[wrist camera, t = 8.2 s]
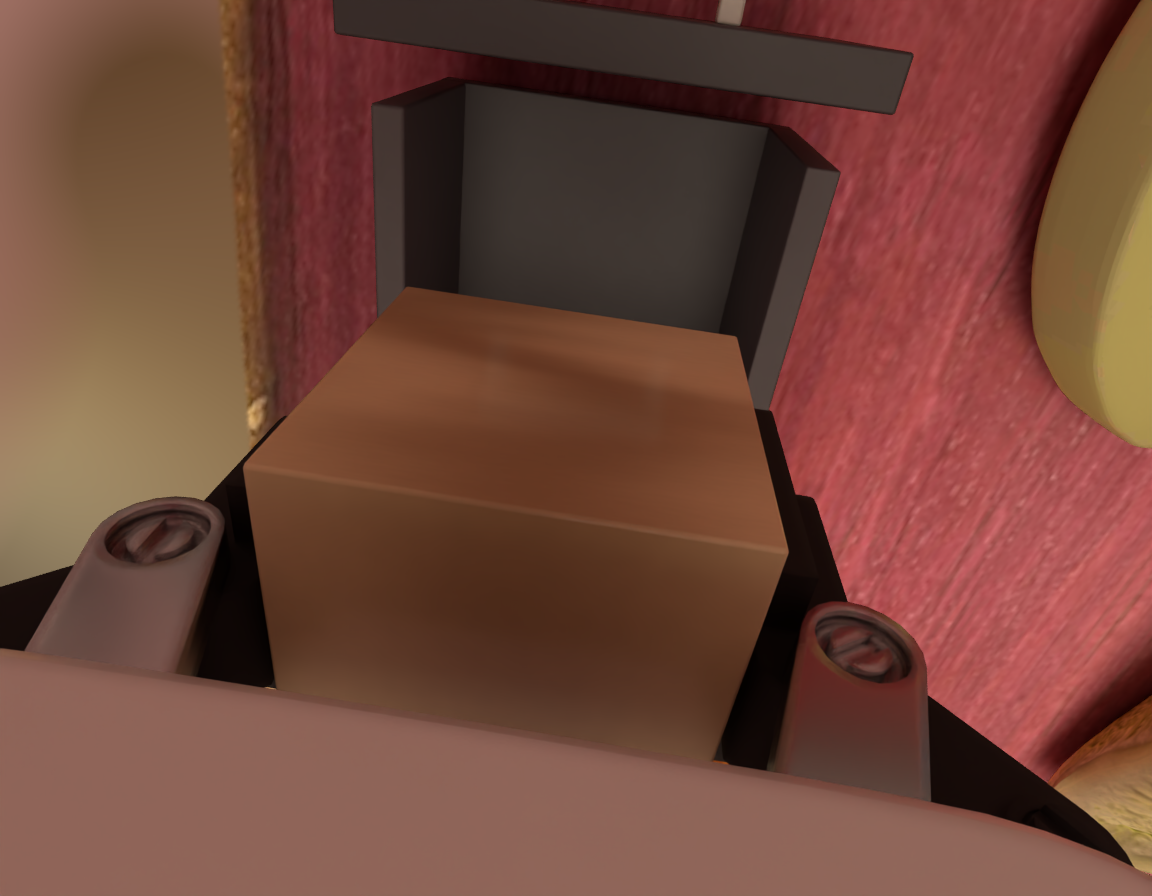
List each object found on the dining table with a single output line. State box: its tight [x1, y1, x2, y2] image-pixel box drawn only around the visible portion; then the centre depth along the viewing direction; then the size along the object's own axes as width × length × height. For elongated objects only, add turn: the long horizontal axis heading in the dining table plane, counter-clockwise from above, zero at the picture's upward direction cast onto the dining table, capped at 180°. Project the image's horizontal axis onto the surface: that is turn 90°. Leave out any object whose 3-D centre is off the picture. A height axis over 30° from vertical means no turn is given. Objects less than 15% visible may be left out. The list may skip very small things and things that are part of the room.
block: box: [243, 287, 789, 762], centre depth 10 cm, size 5×5×5 cm
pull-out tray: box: [333, 0, 913, 410], centre depth 21 cm, size 18×12×8 cm
